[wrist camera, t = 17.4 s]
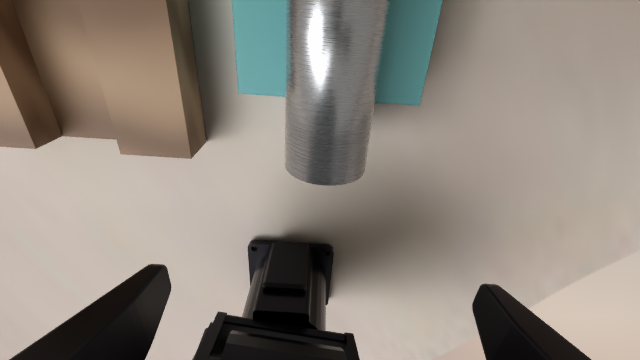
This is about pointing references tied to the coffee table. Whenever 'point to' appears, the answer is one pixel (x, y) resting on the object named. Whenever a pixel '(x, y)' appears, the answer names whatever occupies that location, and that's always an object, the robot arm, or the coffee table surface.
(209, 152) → the coffee table surface
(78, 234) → the coffee table surface
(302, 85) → the axle
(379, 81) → the v block
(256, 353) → the robot arm
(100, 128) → the wooden channel block
